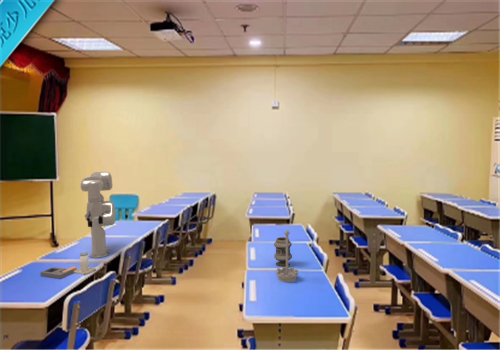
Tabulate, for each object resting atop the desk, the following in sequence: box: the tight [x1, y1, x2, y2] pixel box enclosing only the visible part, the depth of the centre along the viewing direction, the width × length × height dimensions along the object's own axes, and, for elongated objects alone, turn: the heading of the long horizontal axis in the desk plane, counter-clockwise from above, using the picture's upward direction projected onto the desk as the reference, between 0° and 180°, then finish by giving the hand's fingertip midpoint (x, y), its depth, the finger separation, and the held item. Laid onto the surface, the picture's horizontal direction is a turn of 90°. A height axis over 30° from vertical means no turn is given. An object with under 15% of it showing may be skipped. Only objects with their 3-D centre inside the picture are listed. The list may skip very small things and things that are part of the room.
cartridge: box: [79, 252, 90, 272], centre depth 241 cm, size 5×5×12 cm
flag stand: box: [275, 230, 299, 283], centre depth 225 cm, size 13×13×30 cm
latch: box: [62, 266, 78, 273], centre depth 239 cm, size 10×3×2 cm, turn 160°
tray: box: [73, 267, 96, 276], centre depth 241 cm, size 9×9×2 cm
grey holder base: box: [40, 266, 74, 280], centre depth 235 cm, size 10×16×3 cm, turn 70°
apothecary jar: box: [273, 236, 293, 268], centre depth 252 cm, size 12×12×18 cm
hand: (95, 225), depth 249 cm, fingers open, 9 cm apart
